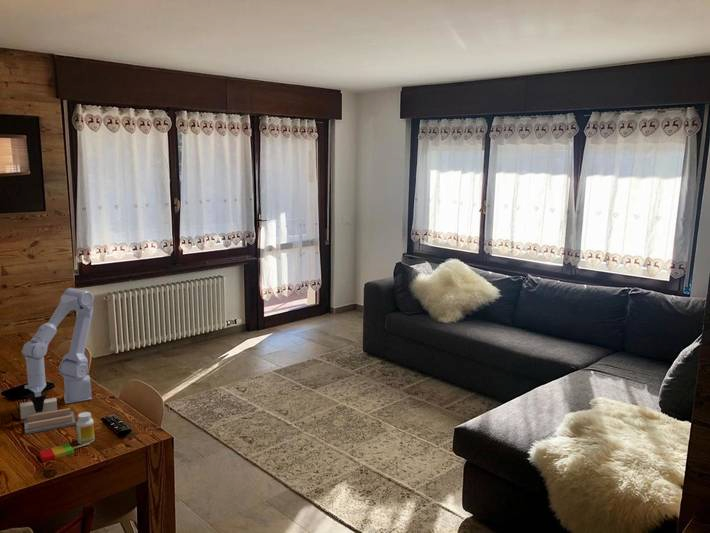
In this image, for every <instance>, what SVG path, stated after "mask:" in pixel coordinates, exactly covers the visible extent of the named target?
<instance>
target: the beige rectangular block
mask: <svg viewBox="0 0 710 533" xmlns="http://www.w3.org/2000/svg"><path fill="white" fill-rule="evenodd" d="M56 410H59V408H58V401H57V397H51V398H45V400H44V405H43V411H42V412H37V413H36V411H35V408H34V405H33V402H32V401H27V402H21V403H19V411H20V420H26V419H27V416H28V415H33V414H39V413H45V412H51V411H56Z"/></svg>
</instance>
